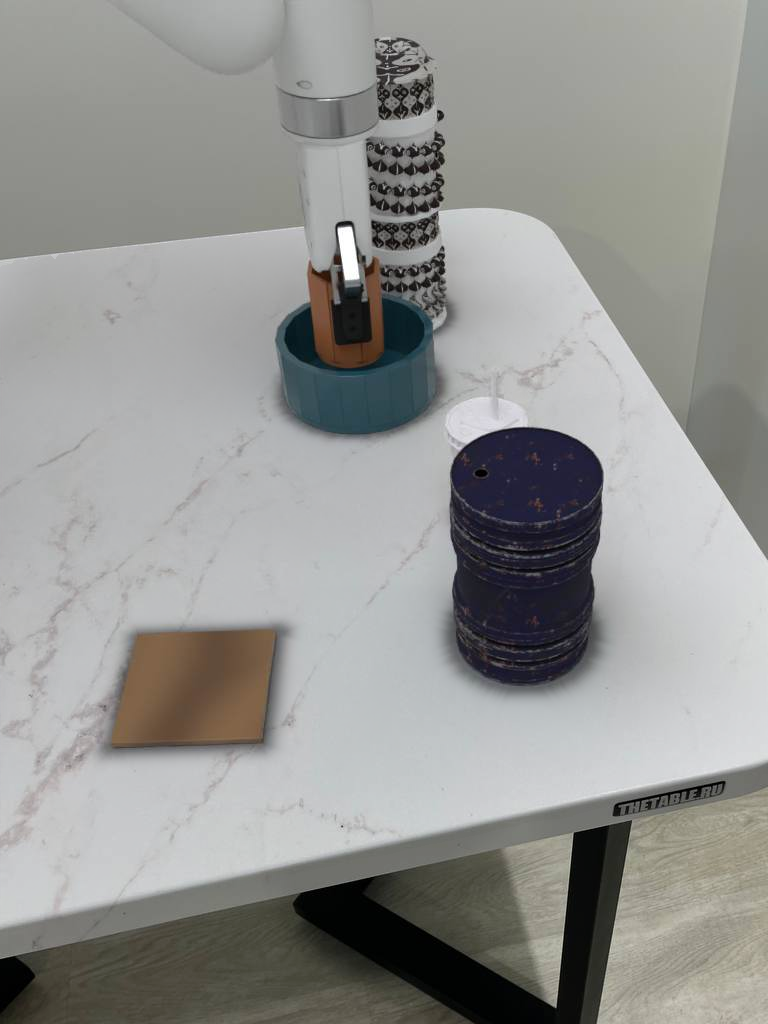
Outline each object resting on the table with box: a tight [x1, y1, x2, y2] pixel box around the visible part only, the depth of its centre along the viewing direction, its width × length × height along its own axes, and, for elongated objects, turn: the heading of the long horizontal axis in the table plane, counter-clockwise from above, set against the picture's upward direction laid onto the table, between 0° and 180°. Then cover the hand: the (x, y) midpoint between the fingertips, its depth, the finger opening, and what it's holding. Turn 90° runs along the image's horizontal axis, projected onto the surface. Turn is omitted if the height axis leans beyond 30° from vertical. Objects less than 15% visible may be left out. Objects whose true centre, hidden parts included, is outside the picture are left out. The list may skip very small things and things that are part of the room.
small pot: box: [306, 256, 384, 368], centre depth 92 cm, size 6×6×8 cm
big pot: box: [274, 294, 437, 435], centre depth 96 cm, size 14×14×6 cm
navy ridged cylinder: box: [448, 426, 605, 686], centre depth 71 cm, size 10×10×15 cm
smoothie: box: [443, 367, 530, 460], centre depth 80 cm, size 6×6×14 cm
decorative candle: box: [366, 36, 448, 332], centre depth 98 cm, size 9×9×25 cm
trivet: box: [109, 628, 277, 749], centre depth 73 cm, size 10×10×1 cm
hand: (348, 319), depth 92 cm, fingers closed on small pot, 6 cm apart
